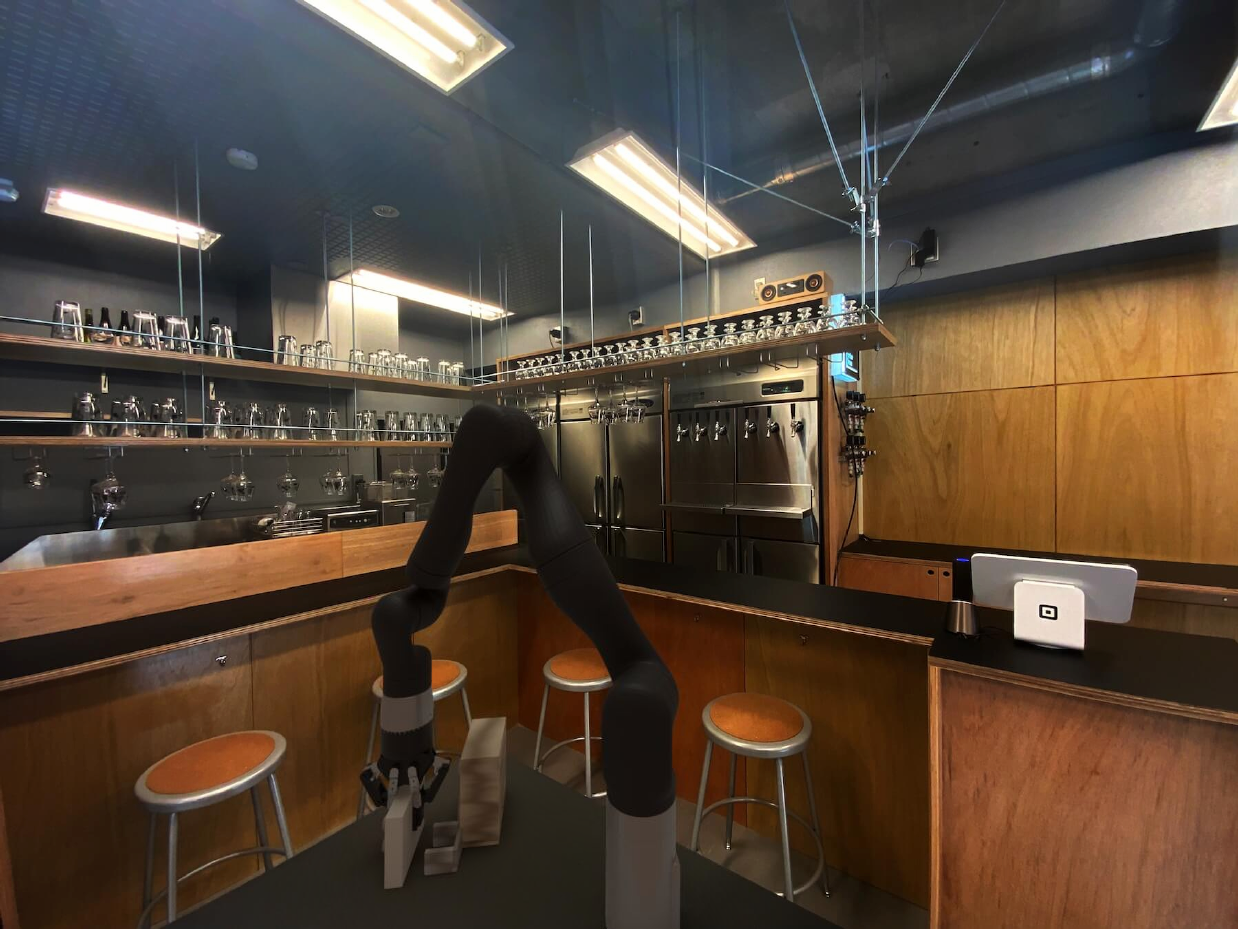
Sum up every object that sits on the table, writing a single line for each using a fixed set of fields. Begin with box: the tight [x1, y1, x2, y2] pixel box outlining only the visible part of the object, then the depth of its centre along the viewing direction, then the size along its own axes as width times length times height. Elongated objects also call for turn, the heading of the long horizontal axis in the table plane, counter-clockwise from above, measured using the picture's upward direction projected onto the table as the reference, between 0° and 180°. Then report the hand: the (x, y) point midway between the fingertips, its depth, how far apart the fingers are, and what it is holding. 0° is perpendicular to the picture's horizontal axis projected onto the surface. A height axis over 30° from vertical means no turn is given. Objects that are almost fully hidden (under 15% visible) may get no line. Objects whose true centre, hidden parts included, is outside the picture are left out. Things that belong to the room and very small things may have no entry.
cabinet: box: [423, 716, 507, 876], centre depth 78 cm, size 10×16×14 cm, turn 8°
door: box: [381, 782, 426, 890], centre depth 73 cm, size 12×4×10 cm, turn 8°
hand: (406, 827), depth 73 cm, fingers closed on door, 2 cm apart
